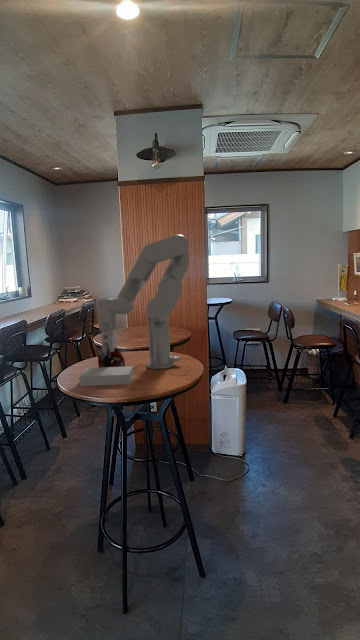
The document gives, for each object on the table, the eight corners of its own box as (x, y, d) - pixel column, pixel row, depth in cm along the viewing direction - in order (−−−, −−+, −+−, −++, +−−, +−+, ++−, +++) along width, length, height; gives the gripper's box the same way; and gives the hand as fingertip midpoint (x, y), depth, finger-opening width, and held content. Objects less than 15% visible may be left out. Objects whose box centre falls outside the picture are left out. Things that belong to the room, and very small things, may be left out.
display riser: (133, 375, 159) (132, 366, 158) (129, 384, 148) (129, 374, 147) (86, 377, 159) (86, 368, 158) (80, 386, 148) (79, 376, 148)
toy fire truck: (122, 372, 163) (120, 349, 161) (95, 372, 165) (93, 350, 163) (126, 367, 170) (125, 345, 168) (100, 367, 172) (99, 346, 170)
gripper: (112, 329, 155) (114, 368, 158) (119, 322, 172) (121, 357, 175) (94, 330, 155) (97, 369, 158) (103, 322, 172) (105, 358, 175)
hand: (109, 363), depth 167 cm, fingers open, 9 cm apart
